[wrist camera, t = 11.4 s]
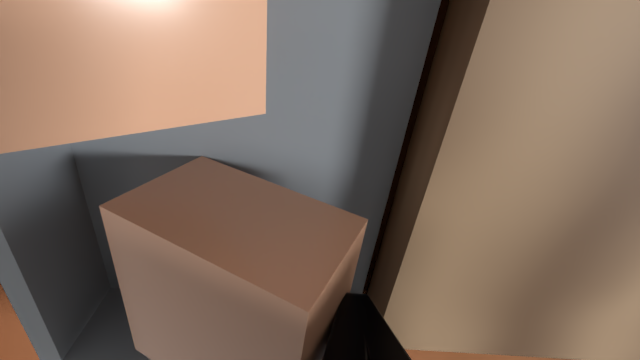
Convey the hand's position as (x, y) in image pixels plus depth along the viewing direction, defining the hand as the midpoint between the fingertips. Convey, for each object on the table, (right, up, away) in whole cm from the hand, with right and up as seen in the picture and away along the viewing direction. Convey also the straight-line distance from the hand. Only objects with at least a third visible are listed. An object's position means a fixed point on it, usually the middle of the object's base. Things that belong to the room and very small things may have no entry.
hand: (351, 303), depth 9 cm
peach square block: (-2, +1, +1) cm, 3 cm away
